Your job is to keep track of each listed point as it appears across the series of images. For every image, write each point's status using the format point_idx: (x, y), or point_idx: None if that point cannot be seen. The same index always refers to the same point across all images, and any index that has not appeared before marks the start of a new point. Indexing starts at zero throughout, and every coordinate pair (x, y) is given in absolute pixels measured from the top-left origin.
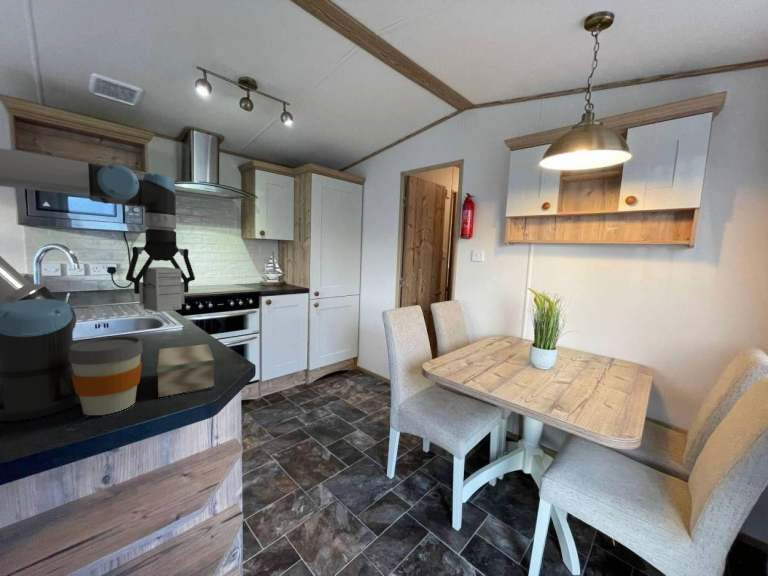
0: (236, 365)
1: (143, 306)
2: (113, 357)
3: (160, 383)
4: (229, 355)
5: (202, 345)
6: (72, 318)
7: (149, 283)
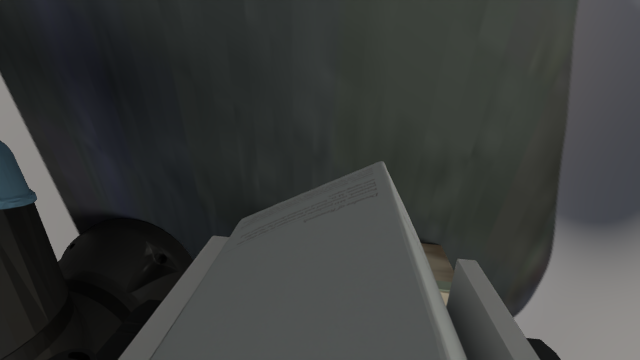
0: (519, 251)
1: (235, 229)
2: None
3: None
4: (547, 144)
5: (446, 302)
6: (11, 337)
7: None
